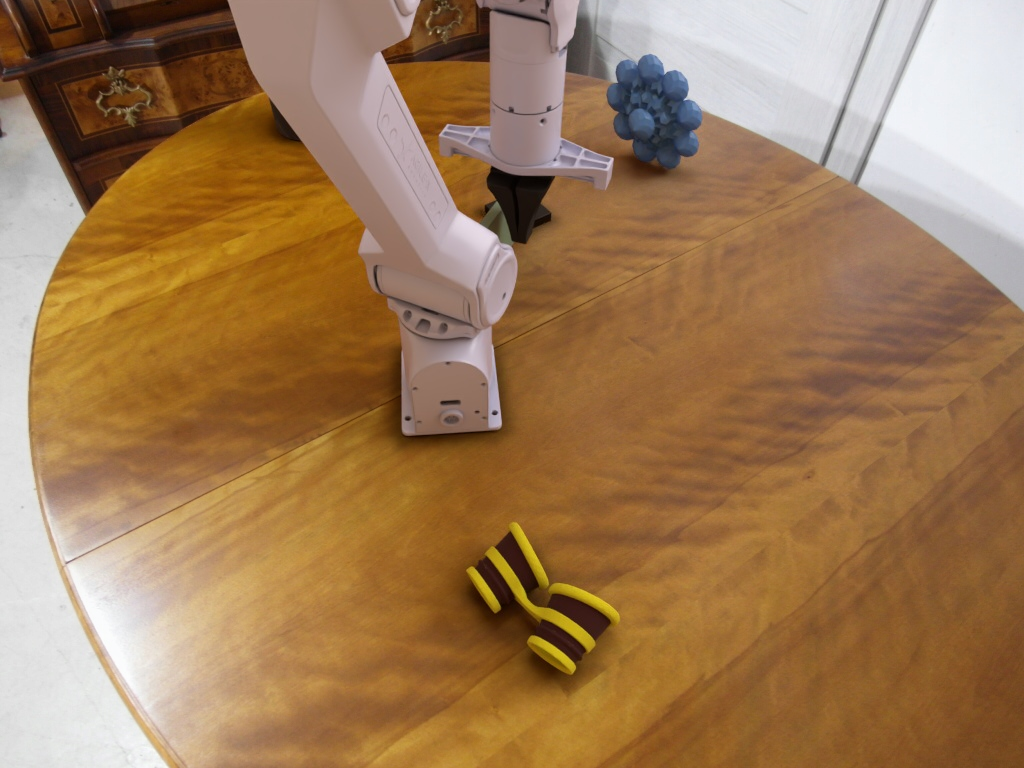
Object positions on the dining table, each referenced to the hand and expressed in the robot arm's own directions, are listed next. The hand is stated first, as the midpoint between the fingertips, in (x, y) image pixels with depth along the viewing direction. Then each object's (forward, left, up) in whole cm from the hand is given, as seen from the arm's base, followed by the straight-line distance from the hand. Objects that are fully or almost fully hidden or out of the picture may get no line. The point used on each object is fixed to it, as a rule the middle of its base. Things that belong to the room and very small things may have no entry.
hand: (521, 236), depth 70 cm
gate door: (+3, +2, -4) cm, 6 cm away
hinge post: (+10, -1, -5) cm, 12 cm away
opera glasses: (-33, +2, -6) cm, 34 cm away
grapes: (+19, -16, -6) cm, 25 cm away
